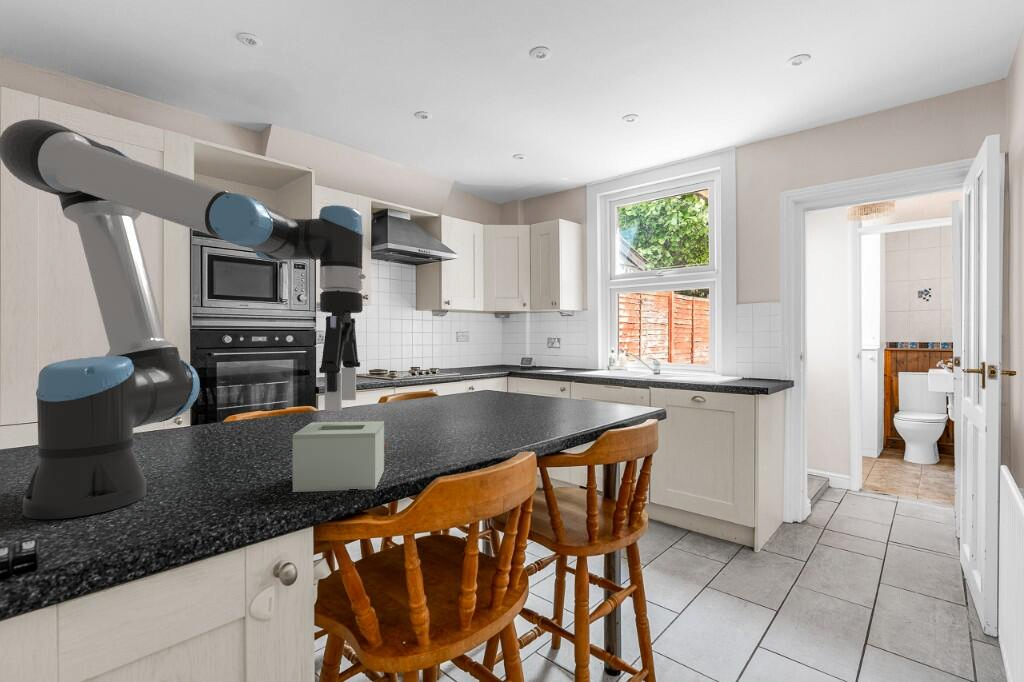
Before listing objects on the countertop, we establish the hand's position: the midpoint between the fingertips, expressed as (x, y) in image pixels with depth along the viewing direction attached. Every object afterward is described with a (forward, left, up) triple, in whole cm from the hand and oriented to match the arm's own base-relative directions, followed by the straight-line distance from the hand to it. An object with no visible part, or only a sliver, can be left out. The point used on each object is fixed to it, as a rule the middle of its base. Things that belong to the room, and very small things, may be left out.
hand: (341, 405), depth 93 cm
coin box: (0, 0, -14) cm, 14 cm away
